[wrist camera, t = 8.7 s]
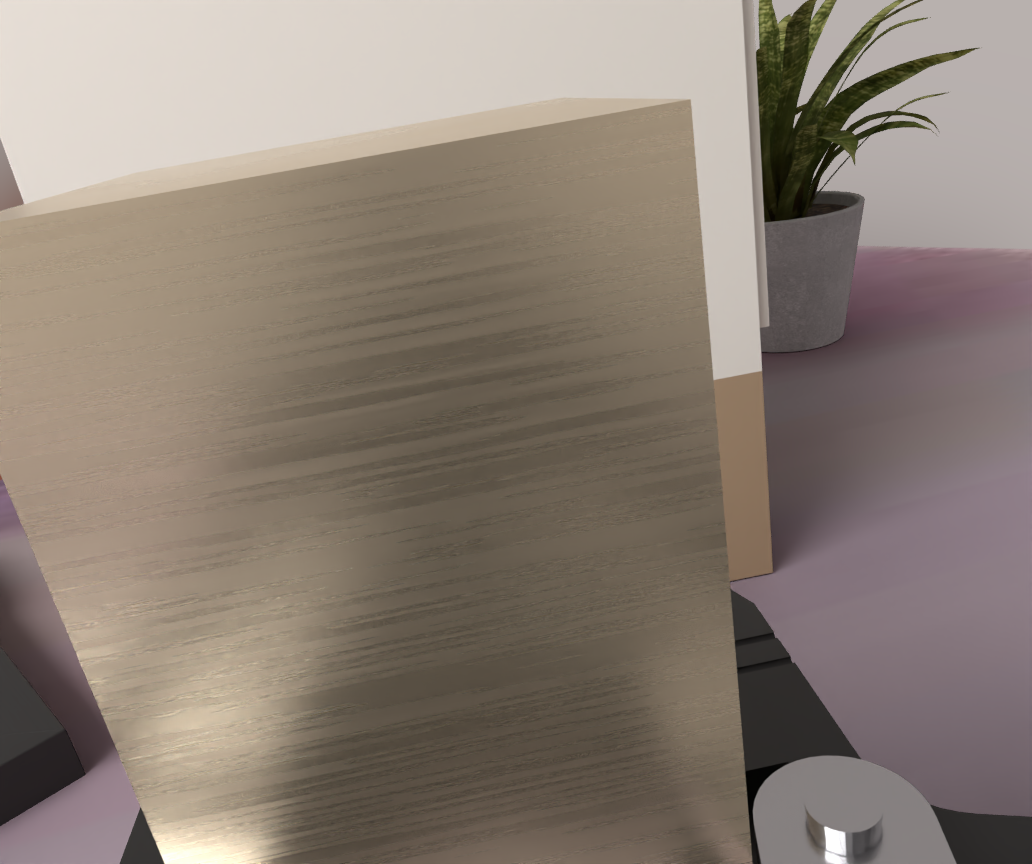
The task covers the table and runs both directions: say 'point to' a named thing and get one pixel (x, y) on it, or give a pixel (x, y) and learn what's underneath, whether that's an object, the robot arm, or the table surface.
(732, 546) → the cabinet
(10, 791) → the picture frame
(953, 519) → the table surface
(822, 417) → the table surface
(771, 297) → the house plant
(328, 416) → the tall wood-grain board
